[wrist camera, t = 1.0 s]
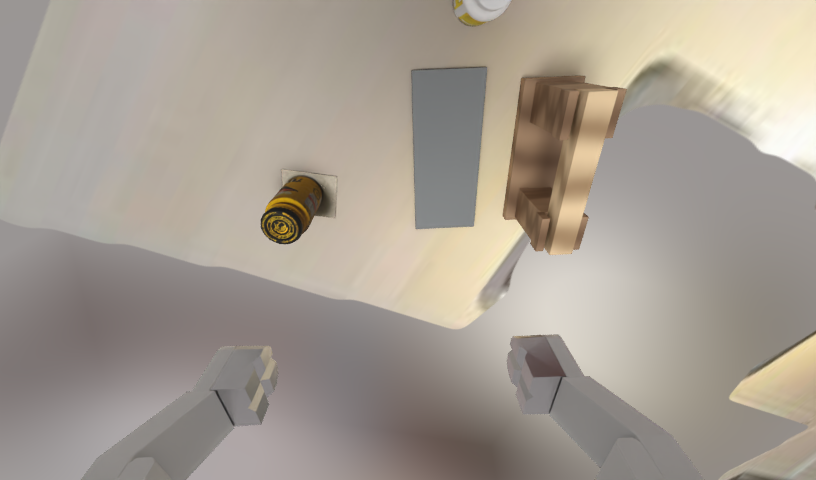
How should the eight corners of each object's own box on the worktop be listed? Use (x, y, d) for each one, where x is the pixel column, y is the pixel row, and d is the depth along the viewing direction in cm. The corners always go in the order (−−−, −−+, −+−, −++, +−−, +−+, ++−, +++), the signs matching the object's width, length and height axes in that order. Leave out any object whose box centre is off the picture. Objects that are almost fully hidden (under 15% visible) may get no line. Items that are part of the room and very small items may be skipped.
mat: (411, 70, 42) (411, 70, 41) (486, 67, 42) (487, 67, 41) (415, 227, 54) (415, 229, 53) (473, 224, 54) (473, 226, 54)
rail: (574, 88, 34) (589, 91, 32) (601, 87, 34) (618, 90, 32) (540, 243, 44) (549, 254, 42) (561, 242, 45) (571, 253, 42)
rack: (521, 78, 42) (561, 86, 32) (579, 75, 42) (638, 83, 32) (502, 215, 53) (527, 254, 43) (549, 213, 53) (585, 252, 43)
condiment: (281, 168, 48) (250, 200, 38) (337, 176, 49) (321, 209, 39) (284, 211, 52) (256, 250, 41) (335, 217, 53) (320, 257, 42)
